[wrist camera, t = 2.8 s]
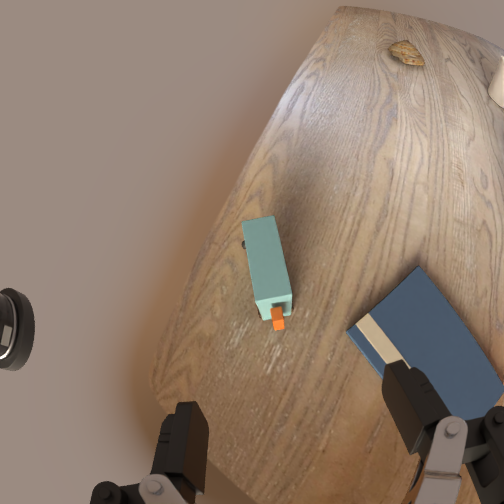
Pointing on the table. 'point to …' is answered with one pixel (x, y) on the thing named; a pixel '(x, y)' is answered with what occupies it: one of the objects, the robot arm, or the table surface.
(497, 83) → the mug
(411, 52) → the seashell
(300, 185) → the table surface
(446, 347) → the striped blue notebook
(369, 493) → the table surface
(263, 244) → the sage wedge block
